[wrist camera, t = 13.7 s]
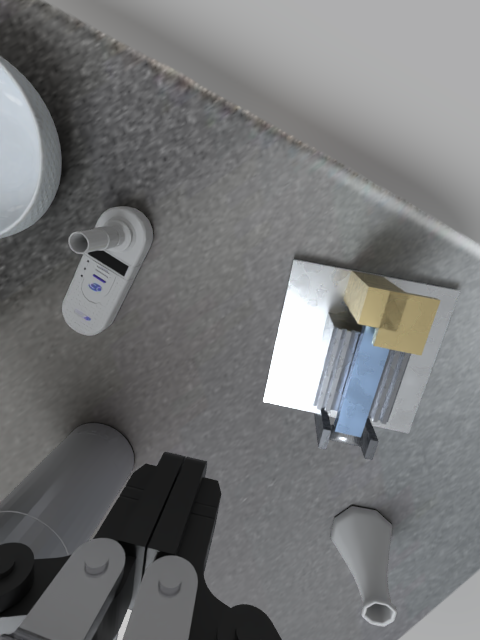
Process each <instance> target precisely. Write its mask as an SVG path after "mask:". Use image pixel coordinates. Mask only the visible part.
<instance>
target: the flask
mask: <svg viewBox="0 0 480 640" xmlns="http://www.w3.org/2000/svg"><path fill="white" fill-rule="evenodd" d="M391 535H392V524H391V523H389V522H388V521H387V520H386V519H385V518H384V517H383V516H382V515H381V514H380V513H378V512H377V511H376V510H371V509H366V508H360V507H355V506H351V507H350V508H348V509H347V510H345V511H344V512H342V513H341V514H340V515H338V516H337V517H335V518H334V521H333V526H332V530H331V535H330V537H331V539H332V541H333V542H334V544H335V546H336V547H337V549H338V550H339V552H340V554H341V555H342V557H343V559H344V560H345V562H346V564H347V566H348V568H349V569H350V571H351V573H352V575H353V576H354V578H355V581H356V583H357V586H358V588H359V591H360V594H361V598H362V603H363V608H362V612H361V614H362V617H363V618H364V619H366V620H367V621H368V622H369V623H370V624H373V625H378V626H383V627H384V626H386V625H388V624H390V623H392V622H394V620H395V617H396V614H397V609H396V607H395V606H394V605H393V604H392V603H391V599H390V595H389V591H388V577H387V572H388V560H389V550H390V542H391Z"/></svg>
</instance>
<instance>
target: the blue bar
mask: <svg viewBox="0 0 480 640" xmlns="http://www.w3.org/2000/svg"><path fill="white" fill-rule="evenodd" d="M375 329H376V327H371V326H366V325H363V328H362V331H361V334H360V338H359V341H358V345H357V348H356V351H355V355H354V358H353V361H352V365H351V368H350V372H349V375H348V378H347V382H346V385H345V389H344V392H343V395H342V399H341V402H340V406H339V409H338V412H337V416H336V419H335V422H334V425H331V434H330V437H329V440H332V441H337V442H341V443H346V444H350V445H354V446H359V447H360V446H361V445H362V442H363V430H364V426H365V423H366V420H367V417H368V414H369V411H370V408H371V405H372V402H373V399H374V396H375V393H376V390H377V387H378V384H379V381H380V378H381V375H382V372H383V369H384V366H385V362H386V359H387V356H388V353H389V350H390V349H386V348H381V347H376V346H373V344H372V343H371V342H372V339H373V335H374V332H375Z"/></svg>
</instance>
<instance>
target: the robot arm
mask: <svg viewBox="0 0 480 640" xmlns="http://www.w3.org/2000/svg"><path fill="white" fill-rule="evenodd" d="M133 466H134V453H133V451H132V448H131V446H130V444H129V442H128V441H127V440H126V438H125V437H124V436H123V435H122V434H121V433H119V432H118V431H117V430H115V429H113V428H112V427H110V426H107V425H104V424H99V423H87V424H83V425H81V426H79V427H77V428H76V429H75V430H73V431H72V432H71V433H70V434H69V435H68V436H67V437H66V438H65V439H64V440H63V441H62V442H61V443H60V444H59V445H58V446H57V447H56V448H55V449H54V450H53V451H52V452H51V453H50V454H49V455H48V456H47V457H46V458H45V459H44V460H43V461H42V462H41V463H40V464H39V465H38V466H37V467H36V468H35V469H34V470H33V471H32V472H31V473H30V474H29V475H28V476H27V477H26V478H25V479H24V480H23V481H22V482H21V483H20V484H19V485H18V486H17V487H16V488H15V489H14V490H13V491H12V492H11V493H10V494H9V495H8V496H7V497H6V498H5V499H4V500H3V501H2V502H1V503H0V640H117V636H118V631H119V629H120V627H121V624H122V622H123V619H124V617H125V614H126V612H127V609H130V610H132V613H131V615H130V619H129V622H128V625H127V628H126V631H125V634H124V637H123V640H282V639H281V638H280V636H279V634H278V632H277V630H276V629H275V627H274V625H273V623H272V622H271V620H270V619H269V617H268V616H267V615H266V614H265V613H264V612H263V611H261V610H260V609H258V608H257V607H254V606H252V605H247V604H241V605H237V606H234V607H232V608H230V607H228V606H227V605H225V604H224V603H222V602H221V601H220V600H218V599H217V598H216V597H215V596H214V595H213V594H212V593H211V592H210V590H209V589H208V587H207V585H206V583H205V579H204V571H205V567H206V563H207V558H208V554H209V550H210V546H211V542H212V538H213V533H214V529H215V524H216V519H217V514H218V508H219V503H220V498H221V491H220V487H219V483H218V481H217V480H212V479H208V478H205V474H206V468H207V461H203V460H199V459H194V458H190V457H185V456H181V455H177V454H173V453H169V452H164V454H163V456H162V457H161V459H160V461H159V463H158V465H157V466H153V465H149V464H145V465H143V466H142V467H141V468H139V469H138V470H137V471H135V472H134V473H133V474H132V476H131V478H130V479H129V481H128V483H127V484H126V487H125V488H124V489H123V491H122V493H121V494H120V497H119V498H118V499H117V501H116V503H115V504H114V506H113V508H112V509H111V511H110V512H109V514H108V516H107V517H106V519H105V521H104V522H103V524H102V526H101V527H100V529H99V531H98V532H97V534H96V536H95V537H94V538H93V539H92V540H90V541H89V539H90V538H91V536H92V534H93V533H94V531H95V529H96V528H97V526H98V525H99V523H100V521H101V520H102V518H103V516H104V515H105V513H106V512H107V510H108V508H109V507H110V505H111V504H112V502H113V500H114V499H115V497H116V496H117V494H118V493H119V491H120V489H121V488H122V486H123V484H124V483H125V481H126V480H127V478H128V476H129V475H130V473H131V471H132V469H133Z"/></svg>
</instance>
